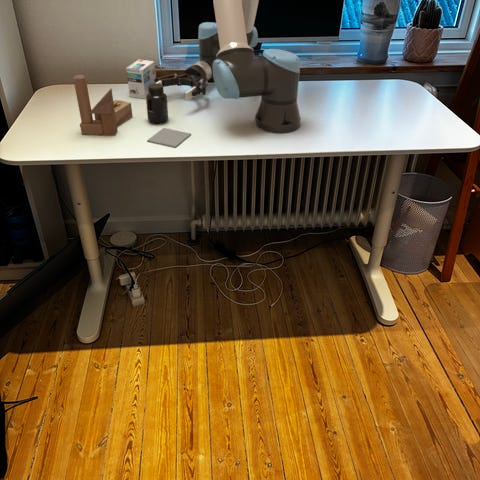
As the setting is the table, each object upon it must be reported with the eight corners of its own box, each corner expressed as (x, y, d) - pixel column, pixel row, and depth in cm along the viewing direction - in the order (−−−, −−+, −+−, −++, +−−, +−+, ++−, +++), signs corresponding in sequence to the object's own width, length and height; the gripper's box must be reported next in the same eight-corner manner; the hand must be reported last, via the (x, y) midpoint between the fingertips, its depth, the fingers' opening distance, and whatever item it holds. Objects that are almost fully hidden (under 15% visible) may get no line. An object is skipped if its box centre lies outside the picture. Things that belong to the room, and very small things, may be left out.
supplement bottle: (145, 124, 165) (141, 88, 158) (151, 116, 170) (147, 81, 163) (166, 125, 164) (163, 90, 157) (170, 117, 170) (168, 82, 163)
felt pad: (191, 134, 159) (191, 133, 159) (175, 148, 152) (175, 146, 151) (163, 129, 162) (163, 127, 162) (147, 141, 155) (147, 140, 155)
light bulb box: (145, 99, 182) (142, 69, 176) (128, 97, 184) (125, 67, 177) (157, 89, 191) (155, 60, 184) (141, 87, 192) (138, 58, 185)
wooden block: (115, 136, 158) (106, 79, 147) (81, 134, 158) (70, 78, 147) (118, 131, 161) (110, 75, 150) (84, 129, 161) (74, 74, 150)
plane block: (132, 116, 170) (129, 93, 165) (111, 130, 161) (108, 106, 156) (117, 113, 171) (114, 91, 167) (96, 127, 163) (92, 103, 158)
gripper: (228, 89, 184) (201, 110, 168) (168, 79, 191) (138, 98, 176) (228, 69, 179) (200, 88, 163) (167, 59, 187) (136, 77, 171)
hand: (168, 93), depth 170 cm, fingers open, 13 cm apart
